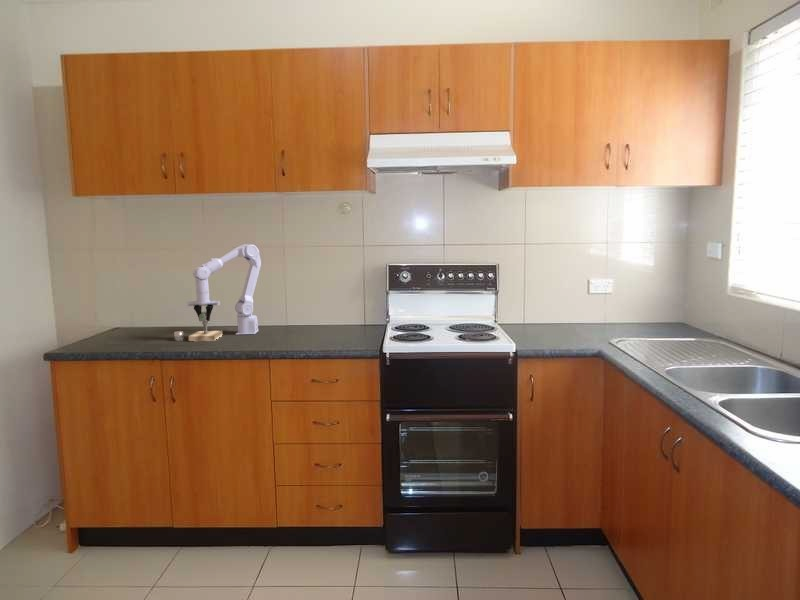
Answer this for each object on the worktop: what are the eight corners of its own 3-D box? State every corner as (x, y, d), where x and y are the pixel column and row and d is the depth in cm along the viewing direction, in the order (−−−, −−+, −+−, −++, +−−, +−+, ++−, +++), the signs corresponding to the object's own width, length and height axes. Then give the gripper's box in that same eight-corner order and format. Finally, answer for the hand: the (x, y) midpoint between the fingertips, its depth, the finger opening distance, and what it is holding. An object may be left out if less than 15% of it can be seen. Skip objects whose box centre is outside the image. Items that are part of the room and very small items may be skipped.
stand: (222, 335, 267) (222, 330, 267) (214, 340, 255) (214, 335, 255) (197, 336, 267) (197, 331, 267) (188, 341, 255) (188, 336, 255)
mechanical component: (199, 335, 256) (198, 314, 255) (205, 331, 266) (203, 311, 265) (206, 334, 256) (204, 313, 255) (211, 331, 266) (210, 311, 265)
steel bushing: (185, 339, 261) (184, 330, 261) (181, 341, 257) (181, 332, 257) (176, 339, 261) (176, 331, 261) (173, 341, 257) (172, 332, 257)
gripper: (220, 290, 263) (222, 318, 265) (189, 291, 261) (191, 319, 263) (216, 292, 256) (218, 321, 258) (184, 293, 254) (187, 322, 256)
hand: (204, 320), depth 260 cm, fingers closed on mechanical component, 3 cm apart
